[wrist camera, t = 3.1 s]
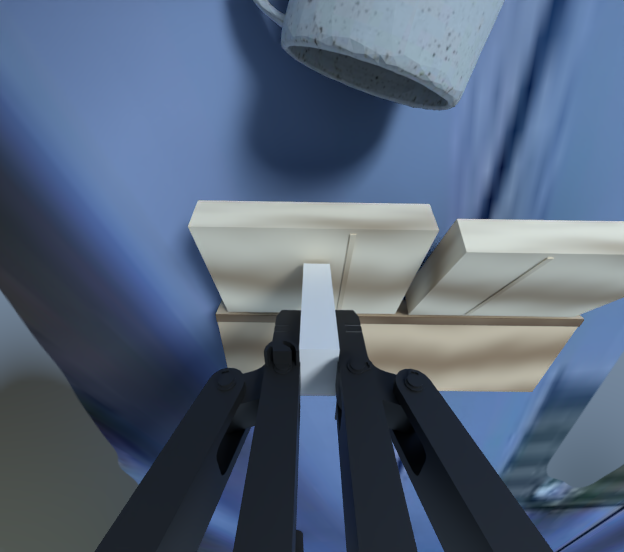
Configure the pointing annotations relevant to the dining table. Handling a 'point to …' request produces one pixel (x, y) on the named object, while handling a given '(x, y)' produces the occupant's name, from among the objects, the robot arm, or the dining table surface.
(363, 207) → the plank
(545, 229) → the plank
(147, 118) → the dining table surface
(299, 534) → the drinking cup
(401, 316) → the laid board
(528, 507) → the dining table surface
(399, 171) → the dining table surface
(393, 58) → the ceramic mug
